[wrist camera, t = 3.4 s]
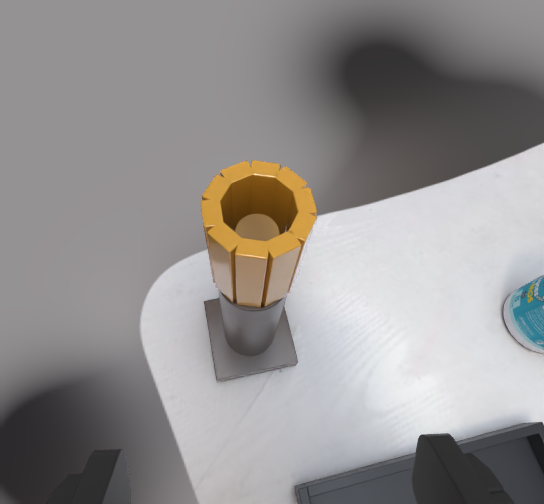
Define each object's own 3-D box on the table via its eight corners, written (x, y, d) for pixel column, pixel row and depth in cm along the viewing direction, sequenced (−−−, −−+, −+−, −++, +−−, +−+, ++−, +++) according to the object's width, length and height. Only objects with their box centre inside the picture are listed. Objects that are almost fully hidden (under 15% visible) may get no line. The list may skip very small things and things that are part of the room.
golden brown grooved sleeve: (218, 315, 25) (209, 267, 18) (206, 233, 28) (195, 165, 21) (306, 300, 26) (328, 250, 19) (287, 222, 28) (301, 154, 22)
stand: (217, 382, 38) (192, 318, 19) (205, 305, 42) (172, 182, 22) (296, 364, 40) (350, 287, 20) (278, 291, 43) (309, 163, 23)
